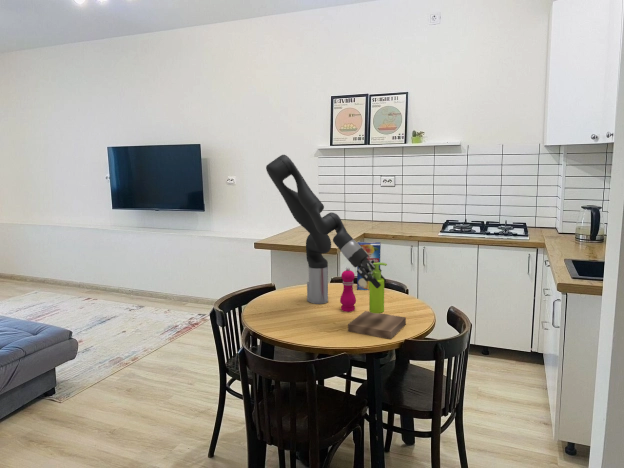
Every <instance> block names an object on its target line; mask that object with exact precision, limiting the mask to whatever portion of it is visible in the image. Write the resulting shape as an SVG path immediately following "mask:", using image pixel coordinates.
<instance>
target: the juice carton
mask: <svg viewBox="0 0 624 468" xmlns="http://www.w3.org/2000/svg"><path fill="white" fill-rule="evenodd" d="M356 242H357V241H356ZM357 243H358V244H359V245H360V246H361V247H362V249H363V250H364V251H365V252H366V253H367V254H368V258H367V259H368V260H369V261H370V262H371V261H372V260H374V261H375V263H378V262H381V250H382V249H381V246H382V245H381V242H377V241H375V242H374V241H371V242H370V241H364V242H363V241H358V242H357ZM379 268H380V269H381V265H379ZM358 269H359V267H356V271H357V270H358ZM356 274H357V275H356V276H357V277H356V278H357V279H356V282H357V284H356V290H357V291H369V281H368V282H366V281H365V280H364V279H363V278H362V277H361V276H360V275H359V274H358V273H357V272H356ZM366 278H367V277H366Z"/></svg>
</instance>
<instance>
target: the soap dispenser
mask: <svg viewBox="0 0 624 468" xmlns="http://www.w3.org/2000/svg"><path fill="white" fill-rule="evenodd" d="M373 265H375V270H374V271H373V276H374V278H376V280H377V281H378V282H379V283H380V284H381V286H380V287H379V288H376V287H375V286H374V285H373V284H372V283H371V282H369V290H368V292H369V294H368V297H369V299H368V300H369V305H368V306H369V307H368V309H369V312H372V313H382V314H384V312H385V283H384V279H382V278H381V275H382V271H380V270H379V265H380V266H384V267H386V266H388V264H387V263H386V262H381V261H380V262H378V263H373Z"/></svg>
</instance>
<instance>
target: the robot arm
mask: <svg viewBox="0 0 624 468" xmlns="http://www.w3.org/2000/svg"><path fill="white" fill-rule="evenodd" d="M265 168H266V169H265V170H266V172H267V175H268V177H269V178H270V180H271V181H272V183H273V184H274V186H275V187H276V188H277V190H278V192H279V193H280V195H281V197H282V198H283V200H284V202H285V204H286V205H287V208H288V209H289V211H290V213H291V215H292V217H293V218H294V220H295V221H296V222H297V224H299V225H300V226H301V227H302V228H303V229H305V230H306V231H307V233H308V236H307V237H306V240H305V251H306V252H305V253H306V261H307V263H308V281H307V282H306V302H308V303H311V304H315V305H317V304H318V305H320V304H321V305H323V304H326V303H329V276H328V275H329V272H328V271H329V267H328V266H329V263H328V259H326V258H325V257H324V256H323V254H328V253H329V252H330V251H331V248H332V242H333V244H335V246H336V247H337V248H338V249H339V250H340V252H341V253H342V254H343V256H344V257H345V258H346V260H347V261H348V262H349V263H350V264H351V265H352V267H353V268H357V267H359V269H358V270H357V269H356V274H357V273H358V274H359V275H360V276H361V277H362V278H363V279H364V280H365V281H366V282H368V281H369V282H371V283H372V284H373V285H374V286H375V287H376V288H379V287H380V286H381V284H380V283H379V282H378V281H377V280H376V278H374V276H373V271H374V270H375V265H373V263H375V261H374V260H372V261H371V262H370V261H369V260H368V259H367V258H368V254H367V253H366V252H365V251H364V250H363V249H362V247H361V246H360V245H359V244H358V243H357V241H356V240H355V239H354V238H353V237H352V236H351V234H350V233H349V232H348V231H347V228H346V227H345V225H344V223H343V221H342V219H341V217H340V216H339V215H338V214H337V213H336V212H328V213H327V214H326V215H324V216H321V213H322V212H323V211H324V208H325V205H324V204H323V202H322V201H321V199H320V198H318V196H317V195H316V194H315V193H314V191H313V190H311V188H310V186H309V184H308V183H307V182H306V180H305V179H304V177H303V176H302V174H301V172H300V171H299V170H298V168H297V166H296V165H295V163H294V162H293V160H292V159H291V158H290V157H289V156H287V154H281V155H279V156H278V157H276V158H274V160H272V161H270V162H269V163H268V164H267V165H266V166H265ZM290 176H292V177H293V179H294V181H295V185H296V189H297V191H295V190H293V189H291V188H289V187H288V186H287V185H286V184H285V183H284V180H285V179H287V178H288V177H290ZM333 231H335V232H336V234H335V235H334V237H333V238H332V241H331V238H330V236H329V234H330V233H332V232H333ZM379 270H380V271H381V272H382V271H383V270H382V269H381V267H380V268H379ZM366 277H367V278H366ZM381 278H382V279H384V284H385V283H386V282H387V279H386V278H385V277H384V276H383V275H382V274H381Z"/></svg>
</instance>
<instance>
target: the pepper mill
mask: <svg viewBox="0 0 624 468" xmlns="http://www.w3.org/2000/svg"><path fill="white" fill-rule="evenodd" d="M341 280H342V285H343V290H342V293H341V295H340V300H339V303H340V304H341V305H340V307H341V308H340V310H341V311H342V312H346V313H349V312H350V313H351V312H354V311H355V310H356V306H355V305H356V302H357V298H356V295H355V293H354V289H353V287H354V286H353V285H354V280H355V273H354V271H353V270H351V267H349V266H347V267H346V268H345V270H344V271H342V273H341Z"/></svg>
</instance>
